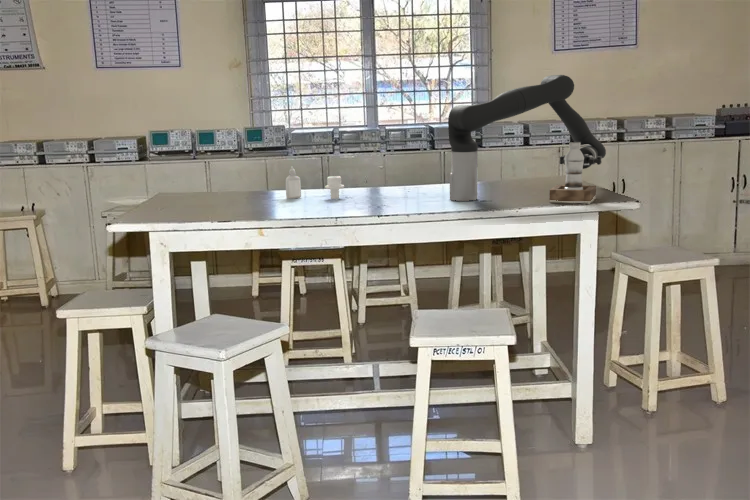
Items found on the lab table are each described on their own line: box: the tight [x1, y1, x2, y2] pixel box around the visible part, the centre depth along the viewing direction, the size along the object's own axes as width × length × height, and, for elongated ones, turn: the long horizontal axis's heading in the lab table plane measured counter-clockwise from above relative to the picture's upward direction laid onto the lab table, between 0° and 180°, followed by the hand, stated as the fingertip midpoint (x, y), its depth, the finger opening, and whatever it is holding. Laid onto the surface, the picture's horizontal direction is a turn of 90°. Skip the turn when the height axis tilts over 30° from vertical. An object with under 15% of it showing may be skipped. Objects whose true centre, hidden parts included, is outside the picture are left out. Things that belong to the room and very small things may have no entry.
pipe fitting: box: [324, 175, 345, 200], centre depth 277 cm, size 6×7×8 cm
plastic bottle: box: [564, 141, 584, 190], centre depth 255 cm, size 6×7×20 cm
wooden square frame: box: [549, 184, 597, 201], centre depth 256 cm, size 14×14×4 cm
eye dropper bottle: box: [285, 165, 302, 200], centre depth 280 cm, size 4×6×12 cm
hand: (577, 162), depth 260 cm, fingers open, 8 cm apart
